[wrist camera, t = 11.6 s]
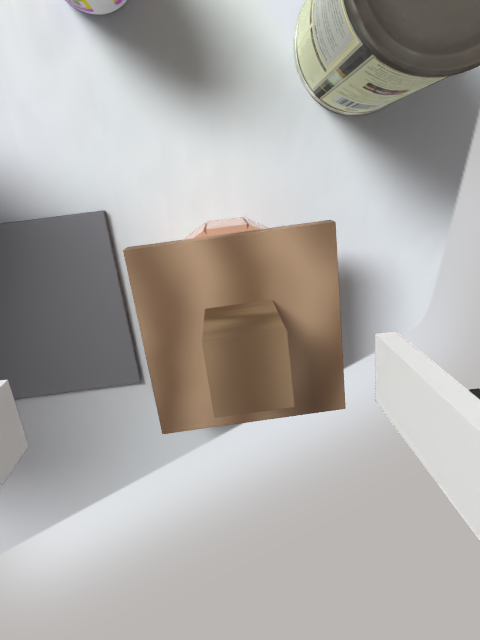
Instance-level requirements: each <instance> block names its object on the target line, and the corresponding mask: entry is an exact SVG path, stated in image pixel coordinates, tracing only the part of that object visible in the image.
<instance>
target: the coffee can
mask: <svg viewBox="0 0 480 640" xmlns="http://www.w3.org/2000/svg"><path fill="white" fill-rule="evenodd" d="M294 55H295V61H296V67H297V70H298V73H299V75H300V78H301V80H302V82H303V84H304V86H305V87H306V89H307V91H308V92H309V93H310V94H311V96H312V97H313V98H314V99H315V100H316V101H317V102H319V103H320V104H321V105H322V106H324V107H326V108H327V109H329V110H332V111H334V112H337V113H340V114H345V115H363V114H368V113H371V112H375V111H377V110H379V109H381V108H383V107H385V106H386V105H388V104H390V103H392V102H394V101H396V100H399V99H401V98H403V97H405V96H407V95H409V94H411V93H414V92H416V91H418V90H420V89H423V88H425V87H427V86H430V85H432V84H434V83H436V82H438V81H440V80H442V79H445V78H447V77H449V76H452V75H456V74H459V73H463V72H466V71H468V70H471V69H473V68H475V67H477V66H479V65H480V0H306V1H305V3H304V5H303V7H302V9H301V11H300V14H299V17H298V21H297V24H296V29H295V36H294Z"/></svg>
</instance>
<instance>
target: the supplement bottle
mask: <svg viewBox="0 0 480 640" xmlns="http://www.w3.org/2000/svg"><path fill="white" fill-rule="evenodd" d="M65 1H67V2H68V3H69V4H70V5H72V6H73V7H75V8H76V9H78V10H80V11H83V12H86V13H89V14H97V15H98V14H107V13H110V12H113V11H115V10H117V9H119V8H120V7H121V6H123V5H124V4H125V3H126V2H127V0H65Z"/></svg>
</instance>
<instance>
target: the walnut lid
mask: <svg viewBox="0 0 480 640" xmlns="http://www.w3.org/2000/svg"><path fill="white" fill-rule="evenodd" d="M123 252H124V257H125V261H126V266H127V271H128V275H129V280H130V285H131V289H132V294H133V299H134V303H135V308H136V313H137V317H138V322H139V327H140V331H141V336H142V340H143V345H144V350H145V354H146V359H147V364H148V368H149V373H150V378H151V382H152V387H153V392H154V396H155V401H156V406H157V410H158V415H159V420H160V424H161V429H162V434H167V433H174V432H181V431H188V430H196V429H203V428H210V427H217V426H224V425H231V424H239V423H246V422H253V421H260V420H267V419H274V418H282V417H289V416H296V415H303V414H310V413H318V412H325V411H331V410H339V409H345V392H344V373H343V354H342V335H341V317H340V298H339V279H338V261H337V242H336V223H335V222H334V221H331V220H326V221H319V222H312V223H304V224H297V225H289V226H282V227H275V228H267V229H260V230H252V231H245V232H238V233H230V234H223V235H215V236H208V237H200V238H193V239H186V240H178V241H171V242H163V243H156V244H149V245H141V246H134V247H127V248H126V249H125V250H123Z"/></svg>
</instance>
